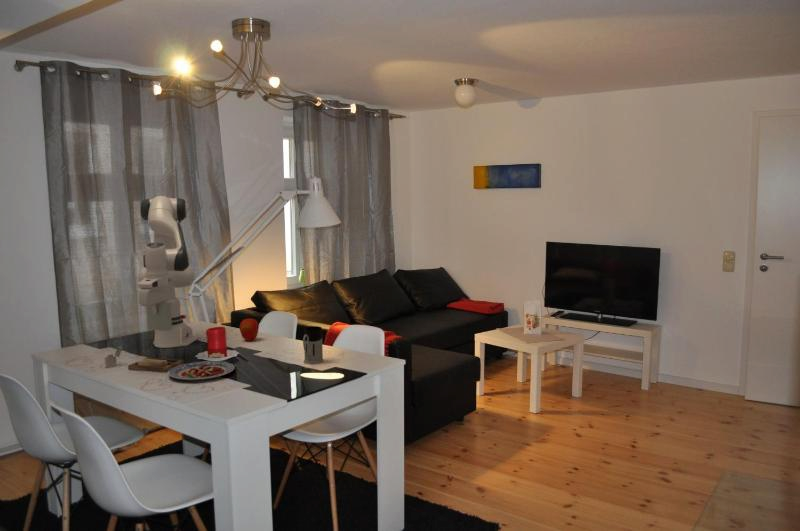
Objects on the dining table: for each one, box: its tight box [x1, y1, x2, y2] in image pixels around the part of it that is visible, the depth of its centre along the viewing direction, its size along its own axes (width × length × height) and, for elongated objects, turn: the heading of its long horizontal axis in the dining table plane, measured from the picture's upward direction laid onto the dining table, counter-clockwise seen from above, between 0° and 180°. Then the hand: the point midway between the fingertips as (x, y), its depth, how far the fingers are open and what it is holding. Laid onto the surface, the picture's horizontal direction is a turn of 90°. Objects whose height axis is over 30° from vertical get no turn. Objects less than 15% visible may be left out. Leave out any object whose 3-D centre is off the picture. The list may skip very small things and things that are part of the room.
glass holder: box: [302, 325, 325, 365], centre depth 270 cm, size 9×14×15 cm, turn 164°
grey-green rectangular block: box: [145, 302, 172, 331], centre depth 268 cm, size 3×10×12 cm, turn 75°
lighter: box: [104, 346, 123, 369], centre depth 269 cm, size 7×2×8 cm, turn 137°
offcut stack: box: [137, 358, 168, 367], centre depth 264 cm, size 5×12×4 cm, turn 78°
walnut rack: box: [127, 357, 185, 373], centre depth 267 cm, size 13×18×2 cm
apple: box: [239, 318, 260, 342], centre depth 313 cm, size 9×9×12 cm
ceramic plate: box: [167, 360, 235, 381], centre depth 256 cm, size 26×26×3 cm
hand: (158, 313), depth 268 cm, fingers closed on grey-green rectangular block, 3 cm apart
